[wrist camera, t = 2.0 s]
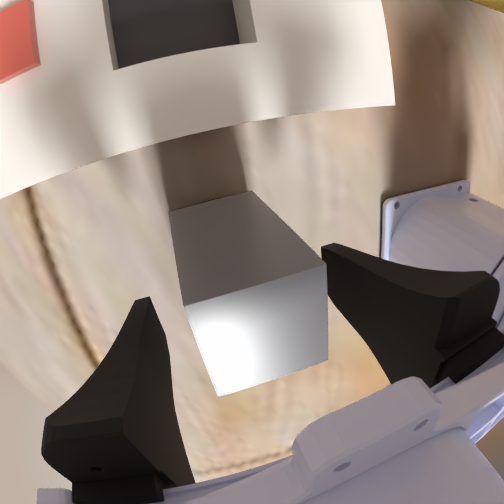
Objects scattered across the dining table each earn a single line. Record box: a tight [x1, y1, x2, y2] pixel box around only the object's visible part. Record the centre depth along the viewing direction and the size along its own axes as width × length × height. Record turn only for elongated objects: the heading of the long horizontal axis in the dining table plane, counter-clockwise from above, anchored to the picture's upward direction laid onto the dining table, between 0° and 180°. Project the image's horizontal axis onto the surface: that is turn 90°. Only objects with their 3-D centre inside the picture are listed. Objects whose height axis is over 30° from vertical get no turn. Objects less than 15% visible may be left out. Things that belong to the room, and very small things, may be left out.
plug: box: [169, 191, 328, 397], centre depth 14 cm, size 4×4×9 cm
